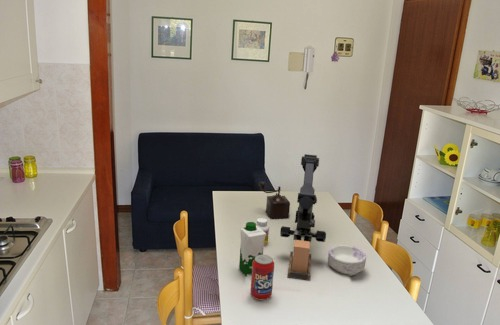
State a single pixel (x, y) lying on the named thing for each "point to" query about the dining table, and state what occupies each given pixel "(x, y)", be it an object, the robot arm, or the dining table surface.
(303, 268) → the block
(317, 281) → the dining table surface
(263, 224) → the supplement bottle
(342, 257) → the paper bowls
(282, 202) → the brown manual coffee grinder
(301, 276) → the brown wooden tray
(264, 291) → the soda can
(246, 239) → the milk carton
